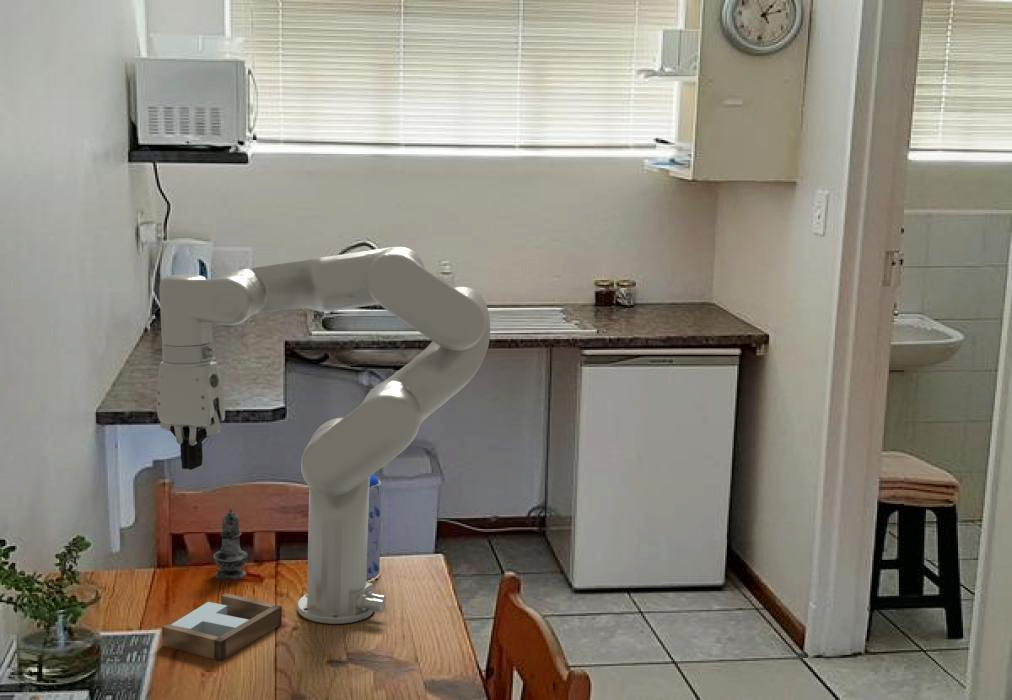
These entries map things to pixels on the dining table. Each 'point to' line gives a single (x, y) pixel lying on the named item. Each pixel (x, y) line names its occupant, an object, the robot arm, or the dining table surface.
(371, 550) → the aerosol can
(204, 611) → the t block
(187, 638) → the corral
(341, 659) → the dining table surface
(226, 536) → the grey stone statue
